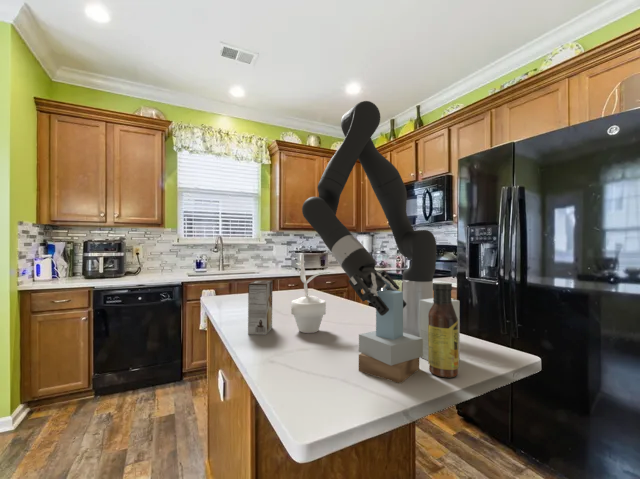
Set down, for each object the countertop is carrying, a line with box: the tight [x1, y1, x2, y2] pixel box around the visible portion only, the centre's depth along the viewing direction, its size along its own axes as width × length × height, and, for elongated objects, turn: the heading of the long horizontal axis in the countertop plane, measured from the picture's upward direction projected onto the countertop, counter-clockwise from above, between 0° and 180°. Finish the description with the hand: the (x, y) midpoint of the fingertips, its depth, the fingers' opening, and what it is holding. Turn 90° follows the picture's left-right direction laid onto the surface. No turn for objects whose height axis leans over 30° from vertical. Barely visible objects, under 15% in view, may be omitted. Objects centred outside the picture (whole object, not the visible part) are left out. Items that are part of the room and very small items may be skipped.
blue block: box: [375, 290, 403, 340], centre depth 71 cm, size 4×4×10 cm
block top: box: [358, 330, 423, 366], centre depth 71 cm, size 10×10×4 cm
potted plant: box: [290, 257, 331, 334], centre depth 103 cm, size 13×12×25 cm
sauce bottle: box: [428, 282, 460, 379], centre depth 69 cm, size 7×6×20 cm
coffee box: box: [247, 280, 274, 336], centre depth 102 cm, size 9×6×16 cm
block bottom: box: [358, 352, 420, 384], centre depth 71 cm, size 10×10×4 cm
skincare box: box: [419, 297, 461, 362], centre depth 78 cm, size 8×6×15 cm
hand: (395, 310), depth 70 cm, fingers open, 8 cm apart
